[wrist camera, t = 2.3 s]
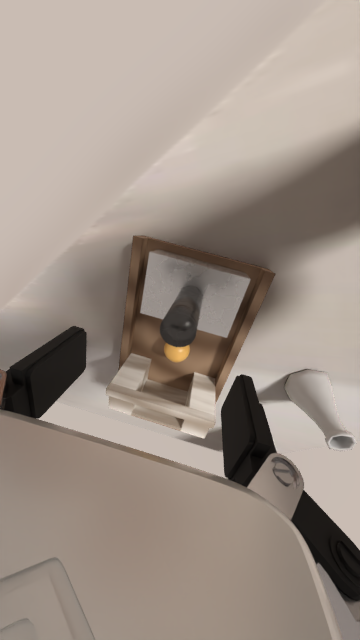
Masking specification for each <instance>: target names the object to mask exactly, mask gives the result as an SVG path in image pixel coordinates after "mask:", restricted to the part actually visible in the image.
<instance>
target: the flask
mask: <svg viewBox="0 0 360 640" xmlns="http://www.w3.org/2000/svg"><path fill="white" fill-rule="evenodd" d="M284 388H285V390H286V392H287V394H288V396H289V398H290V400H291V401H293V402H294V403H295V404H296V405H297V406H298V407H299V408H300V409H302V410H303V411H304V412H305V413H306V414H307V415H308V416H309V417H310V418H311V419H312V420H313V421H314V422H315V423H316V424H317V425H318V427H319V428H320V429H321V430H322V432H323V433H324V435H325V437H326V438H325V440H326V443H327V445H328V447H329V449H333V450H337V451H344V450H351V449H352V448H353V447H354V446H355V445H356V440H355V438H354V436H353V434H352V433H350V432H348V431H347V430H346V428H345V427H344V425H343V424H342V422H341V420H340V418H339V415H338V412H337V407H336V403H335V399H334V393H333V388H332V385H331V382H330V380H329V377H328V374H327V373H326V372H320V371H315V370H309V369H308V370H304V371H301V372H297V373H294V374H291V375H289V378H288V380H287V382H286V384H285V386H284Z"/></svg>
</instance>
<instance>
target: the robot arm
mask: <svg viewBox="0 0 360 640" xmlns="http://www.w3.org/2000/svg"><path fill="white" fill-rule="evenodd" d="M85 368H86V332H84V329H83V328H79V327H76V326H72V327H71V328H69V329H68V330H66V331H65V332H63V333H62V334H60V335H58V336H57V337H55V338H54V339H52V340H51V341H49V342H48V343H46V344H45V345H43V346H42V347H40V348H39V349H37V350H35V351H34V352H32V353H31V354H29V355H28V356H26V357H25V358H23V359H22V360H20V361H19V362H17V363H15V364H14V365H12V366H11V367H10V369H9V370H8V371H6V372H5V371H3V370H1V369H0V640H360V550H359V549H358V548H357V547H356V545H355V544H354V543H353V542H352V541H351V540H350V539H349V538H348V536H346V534H345V533H344V532H343V531H342V530H341V529H340V528H339V527H338V526H337V525H336V524H335V523H334V522H333V521H332V520H331V519H330V518H329V516H328V515H327V514H326V513H325V512H324V511H323V510H322V509H321V508H320V507H319V506H318V505H317V504H316V503H315V501H314V500H313V499H312V498H311V497H310V496H309V495H308V494H307V493H306V492H305V491H304V490H303V489H304V482H303V478H302V476H301V473H300V471H299V470H298V468H297V467H296V466H295V465H294V464H293V462H292V461H291V460H289V459H288V458H287V457H285V456H283V455H281V454H278V453H277V451H276V448H275V445H274V441H273V438H272V435H271V432H270V428H269V425H268V422H267V418H266V415H265V412H264V409H263V406H262V405H261V404H259V401H258V398H257V394H256V391H255V387H254V384H253V380H252V378H251V377H249V376H246V375H242V374H241V375H240V376H237V377H236V379H235V381H234V383H233V385H232V387H231V389H230V391H229V393H228V395H227V397H226V400H225V402H224V404H223V406H222V409H221V421H222V439H223V456H224V473H225V477H227V478H228V479H225V478H223V477H219V476H216V475H213V474H211V473H207V472H205V471H202V470H199V469H196V468H192V467H189V466H187V465H183V464H180V463H177V462H174V461H171V460H168V459H165V458H161V457H158V456H155V455H152V454H149V453H146V452H143V451H139V450H136V449H133V448H130V447H126V446H123V445H120V444H116V443H113V442H110V441H107V440H104V439H101V438H97V437H94V436H91V435H88V434H84V433H81V432H78V431H75V430H71V429H68V428H64V427H61V426H58V425H55V424H52V423H48V422H45V421H42V420H38V419H36V418H40V417H41V416H42V415H43V414H44V413H45V412H46V411H47V410H48V409H49V408H50V407H51V406H52V405H53V404H54V403H55V401H56V400H57V399H58V398H59V397H60V396H61V395H62V394H63V393H64V392H65V391H66V390H67V389H68V388H69V387H70V385H71V384H72V383H73V382H74V381H75V380H76V379H77V378H78V377H79V376H80V375H81V374H82V373H83V372H84V370H85Z"/></svg>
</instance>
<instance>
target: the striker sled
mask: <svg viewBox="0 0 360 640" xmlns="http://www.w3.org/2000/svg"><path fill="white" fill-rule="evenodd" d="M250 280H251V279H250V278H249V276H248V275H247V274H246V273H245V272H241V271H237V270H234V269H230V268H226V267H223V266H219V265H215V264H211V263H208V262H204V261H200V260H197V259H193V258H189V257H186V256H182V255H178V254H174V253H171V252H167V251H163V250H160V249H158V250H154V251H151V252H149V258H148V265H147V271H146V278H145V285H144V291H143V298H142V304H141V311H140V313H142V314H146V315H149V316H153V317H156V318H160V319H163V321H162V322H161V324H160V334H161V337H162V338H163V340H164V341H165V342H166V343H168V344H169V345H171V346H174V347H185V346H188V345H189V344H191V343H192V342H193V341H194V339H195V337H196V332H197V329H198V330H201V331H205V332H208V333H211V334H215V335H218V336H222V337H225V338H227V336H228V334H229V331H230V329H231V327H232V324H233V322H234V319H235V317H236V314H237V312H238V309H239V307H240V304H241V302H242V300H243V297H244V295H245V292H246V290H247V287H248V285H249V282H250Z"/></svg>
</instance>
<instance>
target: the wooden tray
mask: <svg viewBox="0 0 360 640" xmlns="http://www.w3.org/2000/svg"><path fill="white" fill-rule="evenodd" d="M158 249H160V250H163V251H167V252H171V253H174V254H178V255H182V256H186V257H189V258H193V259H197V260H200V261H204V262H208V263H211V264H215V265H219V266H223V267H226V268H230V269H234V270H237V271H241V272H245V273H246V274H247V275H248V276H249V278H250V279H251V280H250V282H249V285H248V287H247V290H246V292H245V295H244V297H243V300H242V302H241V304H240V307H239V309H238V312H237V314H236V317H235V319H234V322H233V324H232V327H231V329H230V331H229V334H228V336H227V338H225V337H222V336H218V335H215V334H211V333H208V332H205V331H201V330H198V329H197V332H196V337H195V339H194V341H193V342H192V343H191V344H189V347H190V352H189V355H188V357H187V358H186V359H185V360H183V361H181V362H172V361H170V360H169V359H168V358H167V357H166V355H165V353H164V346H165V344H166V342H165V341H164V340H163V338H162V337H161V334H160V324H161V322H162V321H163V319H160V318H156V317H153V316H149V315H146V314H142V313H140V311H141V304H142V298H143V291H144V285H145V278H146V271H147V265H148V258H149V252H151V251H154V250H158ZM274 276H275V273H273V272H272V271H270V270H269V269H266V268H262V267H259V266H255V265H251V264H247V263H244V262H240V261H236V260H232V259H229V258H225V257H221V256H217V255H214V254H210V253H206V252H202V251H199V250H195V249H191V248H187V247H184V246H180V245H176V244H172V243H169V242H165V241H161V240H158V239H154V238H150V237H146V236H133V244H132V253H131V262H130V271H129V280H128V289H127V298H126V307H125V316H124V325H123V334H122V343H121V352H120V361H119V370H118V373H117V374H116V375H115V377H114V378H113V380H112V381H111V383H110V384H109V385H108V387H107V388H106V395H108V396H109V405H108V408H110V409H113V410H116V411H119V412H122V413H125V414H129V415H132V416H135V417H138V418H141V419H144V420H147V421H150V422H154V423H157V424H160V425H163V426H166V427H169V428H172V429H175V430H179V431H182V432H185V433H188V434H191V435H194V436H197V437H201V438H205V436H206V434H207V432H208V430H209V428H212V429H213V427H214V425H215V404H216V402H217V400H218V397H219V395H220V393H221V391H222V389H223V387H224V384H225V382H226V380H227V378H228V376H229V374H230V371H231V369H232V367H233V365H234V363H235V360H236V358H237V356H238V354H239V352H240V350H241V347H242V345H243V343H244V341H245V339H246V337H247V334H248V332H249V330H250V328H251V326H252V324H253V321H254V319H255V317H256V315H257V313H258V311H259V308H260V306H261V304H262V302H263V300H264V297H265V295H266V293H267V291H268V289H269V287H270V284H271V282H272V280H273V278H274Z"/></svg>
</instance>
